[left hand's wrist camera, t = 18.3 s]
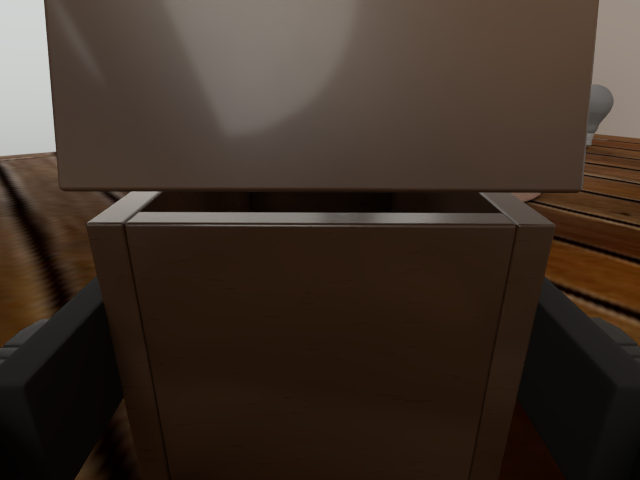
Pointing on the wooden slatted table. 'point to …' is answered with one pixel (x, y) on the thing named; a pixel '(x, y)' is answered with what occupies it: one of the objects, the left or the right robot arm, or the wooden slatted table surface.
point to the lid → (321, 95)
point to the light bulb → (598, 109)
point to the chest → (320, 330)
